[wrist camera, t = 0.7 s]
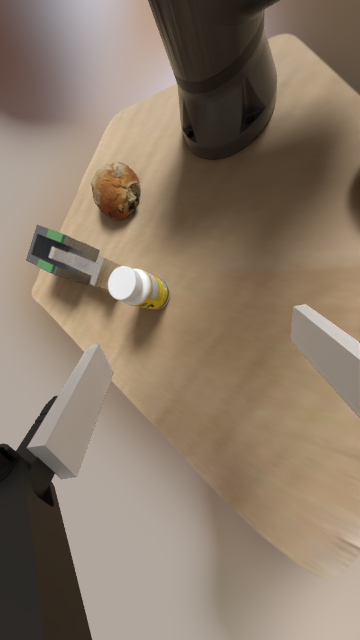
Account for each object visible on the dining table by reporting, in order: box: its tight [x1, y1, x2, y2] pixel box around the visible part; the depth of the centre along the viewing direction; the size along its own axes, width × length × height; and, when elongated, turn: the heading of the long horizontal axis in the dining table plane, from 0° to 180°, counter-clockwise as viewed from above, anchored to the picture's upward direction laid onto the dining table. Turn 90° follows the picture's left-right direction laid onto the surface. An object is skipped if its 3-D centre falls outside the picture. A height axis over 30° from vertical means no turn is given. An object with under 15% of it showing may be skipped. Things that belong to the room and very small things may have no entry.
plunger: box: [49, 246, 121, 290], centre depth 37 cm, size 10×5×9 cm, turn 66°
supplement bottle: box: [108, 266, 170, 310], centre depth 32 cm, size 6×6×10 cm
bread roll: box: [91, 162, 140, 219], centre depth 39 cm, size 10×10×8 cm
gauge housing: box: [26, 225, 99, 285], centre depth 42 cm, size 10×8×8 cm
